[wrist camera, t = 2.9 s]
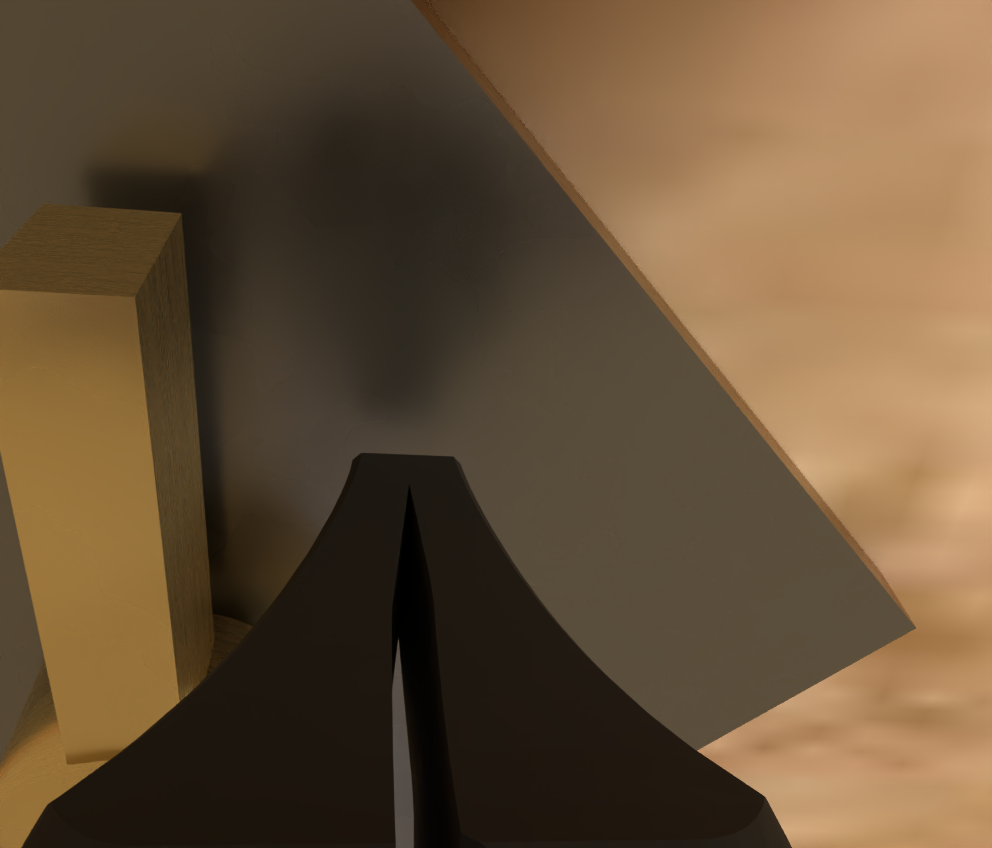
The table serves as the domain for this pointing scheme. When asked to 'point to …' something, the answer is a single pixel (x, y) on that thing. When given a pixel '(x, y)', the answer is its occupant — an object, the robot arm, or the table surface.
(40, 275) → the brass door handle
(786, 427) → the table surface
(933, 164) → the table surface
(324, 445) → the base plate
